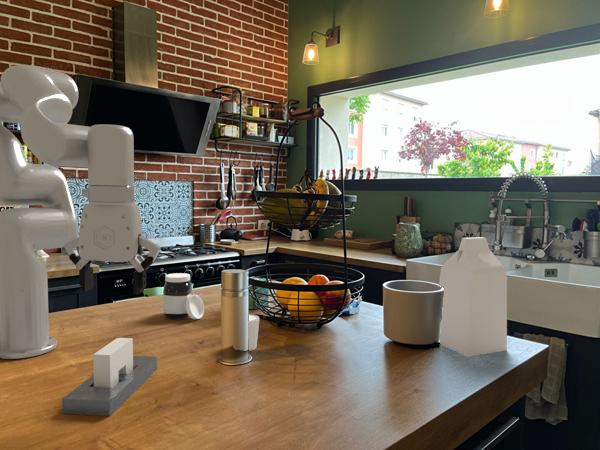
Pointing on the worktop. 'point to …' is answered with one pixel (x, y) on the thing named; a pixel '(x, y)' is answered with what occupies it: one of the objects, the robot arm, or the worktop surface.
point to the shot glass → (253, 331)
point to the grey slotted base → (108, 391)
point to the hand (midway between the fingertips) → (113, 291)
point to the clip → (113, 362)
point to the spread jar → (181, 298)
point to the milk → (474, 300)
